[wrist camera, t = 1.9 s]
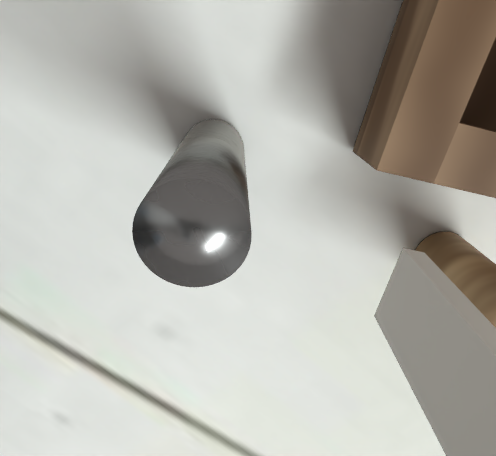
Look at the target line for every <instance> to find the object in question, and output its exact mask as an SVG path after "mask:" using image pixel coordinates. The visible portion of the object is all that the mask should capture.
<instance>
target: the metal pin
mask: <svg viewBox="0 0 496 456" xmlns="http://www.w3.org/2000/svg"><path fill="white" fill-rule="evenodd" d="M132 232H133V240H134V245H135V248H136V250H137V253H138V254H139V256H140V258H141V260H142V261H143V262H144V264H145V265H146V266H147V267H148V268H149V269H150V270H151V271H152V272H153V273H154V274H156V275H157V276H159V277H160V278H162V279H164V280H166V281H168V282H170V283H173V284H176V285H180V286H186V287H203V286H208V285H212V284H215V283H218V282H220V281H222V280H224V279H226V278H228V277H229V276H231V275H232V274H233V273H234V272H235V271H236V270H237V269H238V268H239V267H240V266H241V265H242V263H243V262H244V260H245V258H246V256H247V254H248V251H249V248H250V244H251V224H250V212H249V200H248V189H247V177H246V166H245V154H244V144H243V141H242V138H241V136H240V134H239V133H238V131H237V130H236V129H235V128H234V127H233V126H232V125H230V124H229V123H227V122H225V121H222V120H218V119H208V120H204V121H201V122H199V123H197V124H196V125H194V126H193V127H192V128H191V129H190V130H189V132H188V133H187V135H186V136H185V138H184V139H183V141H182V142H181V144H180V145H179V147H178V148H177V150H176V151H175V153H174V154H173V156H172V157H171V159H170V160H169V162H168V163H167V165H166V166H165V168H164V169H163V171H162V172H161V174H160V175H159V177H158V178H157V180H156V181H155V183H154V184H153V186H152V187H151V189H150V190H149V192H148V193H147V195H146V196H145V198H144V199H143V201H142V202H141V204H140V205H139V207H138V209H137V211H136V214H135V217H134V221H133V230H132Z"/></svg>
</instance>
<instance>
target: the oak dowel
mask: <svg viewBox="0 0 496 456" xmlns="http://www.w3.org/2000/svg"><path fill="white" fill-rule="evenodd" d="M415 251H420V252H424V253H425V254H426V255H427V256H428V257H429V258H430V259H431V260H432V261H433V262H434V263H435V264H436V265H437V266H438V267H439V268H440V270H441V271H442V272H443V273H444V274H445V275H446V276H447V277H448V278H449V279H450V280H451V281H452V282H453V283H454V284H455V285H456V286H457V288H458V289H459V290H460V291H461V292H462V293H463V294H464V295H465V296H466V297H467V298H468V299H469V300H470V301H471V302H472V303H473V304H474V306H475V307H476V308H477V309H478V310H479V311H480V312H481V313H482V314H483V315H484V316H485V317H486V318H487V319H488V320H489V321H490V322H491V324H492V325H493V326H494V327H495V328H496V264H495V263H493V262H492V261H491V260H490V259H488V258H487V257H486V256H484V255H483V254H482V253H481V252H479V251H478V250H477V249H476V248H474V247H473V246H472V245H471V244H469V243H468V242H467V241H465V240H464V239H463V238H462V237H460V236H459V235H457V234H455V233H452V232H438V233H435V234H432V235H430V236H428V237H427V238H425V239H424V240H423V241H422V242H421V243H420V244H419V245H418V247H417V248H416V250H415Z"/></svg>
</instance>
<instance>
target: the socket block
mask: <svg viewBox="0 0 496 456" xmlns="http://www.w3.org/2000/svg"><path fill="white" fill-rule="evenodd" d="M353 152H354V153H355V154H357V155H358V156H359V157H360V158H362V159H363V160H364V161H366V162H367V163H368V164H369V165H371V166H372V167H373V168H374V169H376V170H378V171H382V172H386V173H391V174H395V175H399V176H403V177H408V178H412V179H416V180H421V181H425V182H429V183H433V184H438V185H442V186H446V187H451V188H455V189H459V190H464V191H468V192H472V193H476V194H481V195H485V196H489V197H494V198H496V0H403V2H402V5H401V8H400V11H399V14H398V17H397V20H396V23H395V26H394V29H393V32H392V35H391V38H390V41H389V44H388V47H387V50H386V53H385V56H384V59H383V62H382V65H381V68H380V71H379V74H378V77H377V80H376V83H375V86H374V89H373V92H372V95H371V98H370V101H369V104H368V107H367V110H366V113H365V116H364V119H363V122H362V125H361V128H360V130H359V133H358V136H357V139H356V142H355V145H354V148H353Z"/></svg>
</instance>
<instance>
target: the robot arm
mask: <svg viewBox="0 0 496 456" xmlns="http://www.w3.org/2000/svg"><path fill="white" fill-rule="evenodd" d="M374 316H375V318H376V320H377V322H378V324H379V326H380V328H381V330H382V332H383V334H384V336H385V338H386V340H387V341H388V343H389V345H390V347H391V349H392V351H393V353H394V355H395V357H396V359H397V361H398V363H399V365H400V367H401V369H402V371H403V373H404V375H405V376H406V378H407V380H408V382H409V384H410V386H411V388H412V390H413V392H414V394H415V396H416V398H417V400H418V402H419V404H420V406H421V408H422V409H423V411H424V413H425V415H426V417H427V419H428V421H429V423H430V425H431V427H432V429H433V431H434V433H435V435H436V437H437V439H438V441H439V443H440V444H441V446H442V448H443V450H444V452H445V454H446V456H496V328H495V327H494V326H493V325H492V324H491V322H490V321H489V320H488V319H487V318H486V317H485V316H484V315H483V314H482V313H481V312H480V311H479V310H478V309H477V308H476V307H475V306H474V304H473V303H472V302H471V301H470V300H469V299H468V298H467V297H466V296H465V295H464V294H463V293H462V292H461V291H460V290H459V289H458V288H457V286H456V285H455V284H454V283H453V282H452V281H451V280H450V279H449V278H448V277H447V276H446V275H445V274H444V273H443V272H442V271H441V270H440V268H439V267H438V266H437V265H436V264H435V263H434V262H433V261H432V260H431V259H430V258H429V257H428V256H427V255H426V254H425V253H424V252H420V251H415V250H411V249H406V248H403V249H402V251H401V254H400V256H399V259H398V261H397V263H396V266H395V268H394V270H393V273H392V275H391V277H390V280H389V282H388V284H387V287H386V289H385V292H384V294H383V296H382V299H381V301H380V303H379V306H378V308H377V310H376V313H375V315H374Z"/></svg>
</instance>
